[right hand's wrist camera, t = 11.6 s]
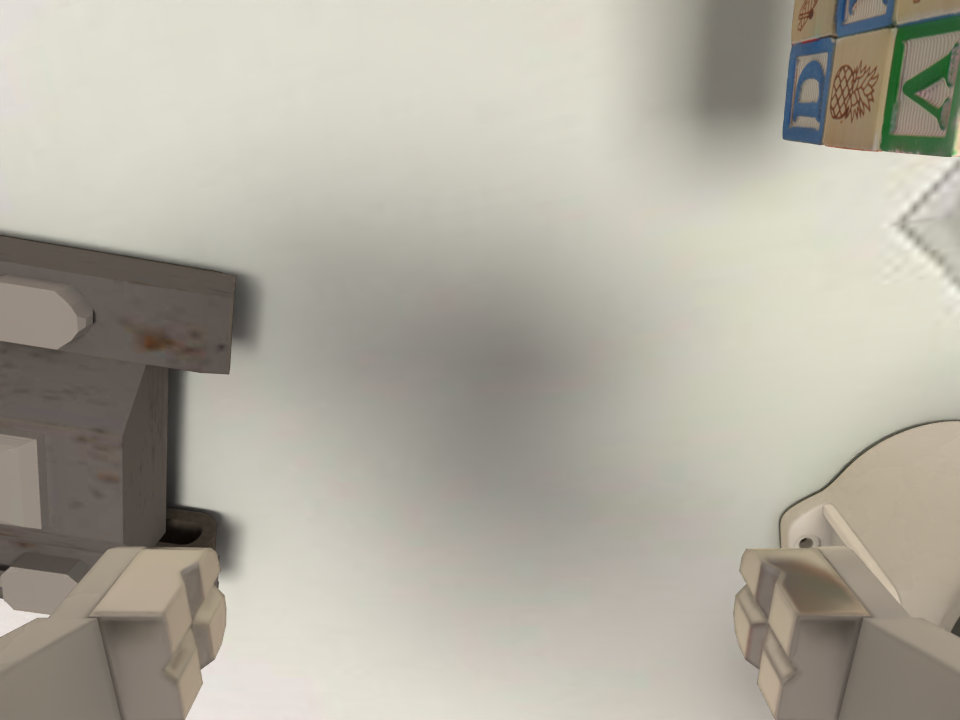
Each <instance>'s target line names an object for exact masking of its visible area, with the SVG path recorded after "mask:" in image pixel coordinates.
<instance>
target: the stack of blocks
mask: <svg viewBox="0 0 960 720" xmlns="http://www.w3.org/2000/svg"><path fill="white" fill-rule="evenodd" d="M791 43H792V49H791V53H790V60H789V69H788V79H787V90H786V102H785V111H784V122H783V139H784V140H788V141H795V142H803V143H810V144H817V145H825V146H829V147H836V148H843V149H853V150H862V151H876V152H877V151H886V152H896V153H907V154H919V155H931V156H942V157H959V156H960V0H795V4H794V13H793V23H792V33H791Z"/></svg>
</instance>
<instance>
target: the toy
mask: <svg viewBox="0 0 960 720" xmlns="http://www.w3.org/2000/svg"><path fill="white" fill-rule="evenodd" d="M235 284H236V276H234V275H228V274H223V273H220V272H216V271H211V270H205V269H199V268H193V267H187V266H181V265H175V264H169V263H163V262H157V261H151V260H145V259H139V258H133V257H127V256H121V255H115V254H109V253H103V252H97V251H91V250H85V249H79V248H73V247H67V246H61V245H55V244H49V243H43V242H37V241H31V240H25V239H19V238H13V237H7V236H1V235H0V598H2V599H4V600H5V601H6V602H7V603H8V604H9V605H10V606H11V607H12V608H13V609H14V610H19V611H27V612H34V613H41V614H49V615H51V614H52V613H53V612H54V611H55V609H56V608H57V607H58V606H59V605H60V604H61V603H62V601H63V600H64V599H65V598H66V597H67V596H68V594H69V593H70V592H71V591H72V590H73V589H74V588H75V586H76V585H77V584H78V583H79V582H80V581H81V579H82V578H83V577H84V576H85V575H86V574H87V573H88V571H89V570H90V569H91V568H92V567H93V566H94V565H95V563H96V562H97V561H98V560H99V559H100V558H101V556H102V555H103V554H104V553H105V552H106V551H107V550H108V549H111V548H114V547H116V546H144V547H192V548H212V549H213V550H214V551H215V547H216V526H217V524H216V521H215V519H214V518H213V517H212V516H210V515H209V514H205V513H202V512H195V511H188V510H181V509H174V508H167V507H166V483H167V427H168V371H169V368H173V369H180V370H186V371H192V372H199V373H214V374H229V371H230V359H231V341H232V323H233V306H234V292H235ZM218 560H219V556H218ZM214 585H215V586H216V587H217V588H218V585H219V582H218V577H217V579H216V580H215V582H214Z"/></svg>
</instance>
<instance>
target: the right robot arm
mask: <svg viewBox="0 0 960 720" xmlns="http://www.w3.org/2000/svg"><path fill="white" fill-rule="evenodd" d="M780 533H781V548H761V549H746V550H745V552H744V554H743V556H742V559H741V565H740V570H739V571H740V573H741V575H742V577H743V579H744V580H745V582H746V585H745V586H744V587H743V588H742V589H741V590H740V591H739V592H738V593H737V594H736V595H735V604H734V612H733V615H734V626H735V634H736V637H737V641H738V644H739V647H740V649H741V651H742V653H743V655H744V658H745V660H747V661H748V662H750V663H751V664H752V665H754V666H755V667H756V668H758V669H759V675H758V681H757V684H758V686H759V688H760V690H761V692H762V694H763V696H764V698H765V700H766V702H767V704H768V706H769V708H770V710H771V712H772V714H773V716H774V718H775V720H960V421H947V422H938V423H932V424H927V425H922V426H919V427H915V428H912V429H909V430H906V431H903V432H901V433H899V434H896V435H894V436H892V437H890V438H888V439H886V440H884V441H882V442H880V443H879V444H877V445H875V446H874V447H872V448H871V449H869V450H868V451H866V452H865V453H864V454H862V455H861V456H860V457H859V458H857V459H856V460H855V461H854V462H853V463H852V464H851V465H849V466H848V467H847V468H846V470H845V471H844V472H843V473H842V474H841V475H840V476H839V477H838V478H837V479H836V480H835V481H834V482H833V483H832V484H831V485H829V486H828V487H827V488H826V489H824V490H823V491H821V492H819V493H817V494H815V495H813V496H811V497H809V498H807V499H805V500H803V501H801V502H800V503H798V504H796V505H795V506H793V507H792V508H790V509H789V510H788V511H787V512H786V513H785V514H784V515H783V517H782V519H781V523H780ZM804 538H807V539H806V540H805V541H804V542H801V543H799V542H800V541H801V540H802V539H804ZM220 571H221V570H220V565H219V560H218V555H217V553H216V552H215V551H214V550H213V549H212V548H192V547H144V546H116V547H114V548H111V549H108V550H107V551H106V552H105V553H104V554H103V555H102V556H101V558H100V559H99V560H98V561H97V562H96V563H95V565H94V566H93V567H92V568H91V569H90V570H89V571H88V573H87V574H86V575H85V576H84V577H83V578H82V579H81V581H80V582H79V583H78V584H77V585H76V586H75V588H74V589H73V590H72V591H71V592H70V593H69V594H68V596H67V597H66V598H65V599H64V600H63V601H62V603H61V604H60V605H59V606H58V607H57V608H56V609H55V611H54V612H53V613H52V614H51V615H50V616H49V617H48V618H36V619H34V620H32V621H31V622H29V623H27V624H25V625H23V626H21V627H19V628H17V629H15V630H13V631H11V632H9V633H7V634H6V635H4V636H2V637H0V720H185V719H186V717H187V715H188V713H189V711H190V709H191V707H192V705H193V702H194V700H195V698H196V696H197V694H198V692H199V690H200V688H201V686H202V684H203V681H202V675H201V669H202V668H204V667H205V666H206V665H208V664H209V663H210V662H212V661H213V660H215V658H216V655H217V653H218V651H219V649H220V647H221V645H222V641H223V636H224V632H225V627H226V602H225V595H224V594H223V593H222V592H221V591H220V590H219V589H218V588H217V587H216V586H215V585H214V582H215V580H216V579H217V577H218V575H219V573H220Z"/></svg>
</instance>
